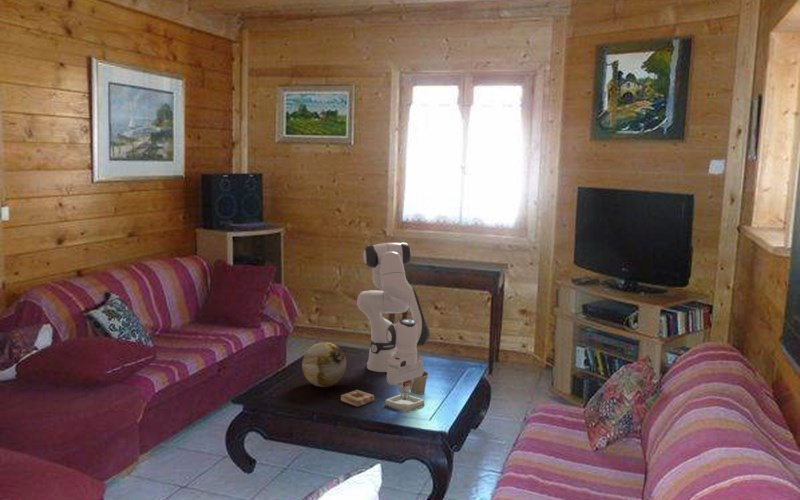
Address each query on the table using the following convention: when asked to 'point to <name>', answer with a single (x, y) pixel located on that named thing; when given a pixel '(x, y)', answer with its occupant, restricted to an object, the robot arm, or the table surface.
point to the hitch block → (357, 398)
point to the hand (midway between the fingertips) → (405, 390)
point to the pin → (405, 390)
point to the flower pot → (419, 384)
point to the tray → (404, 403)
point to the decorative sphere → (324, 364)
